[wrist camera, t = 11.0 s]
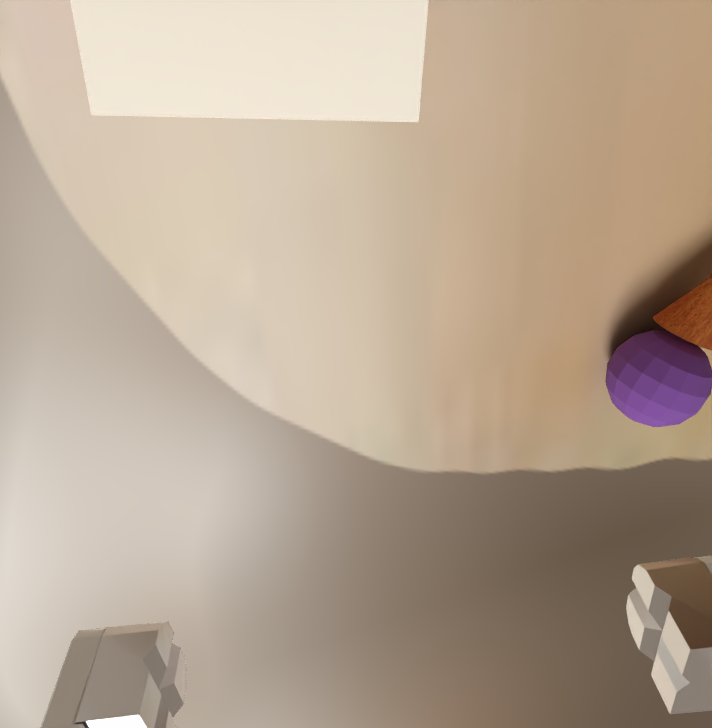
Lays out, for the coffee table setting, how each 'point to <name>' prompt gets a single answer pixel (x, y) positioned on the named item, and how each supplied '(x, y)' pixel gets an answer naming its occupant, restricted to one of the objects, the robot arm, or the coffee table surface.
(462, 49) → the coffee table surface
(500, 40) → the coffee table surface
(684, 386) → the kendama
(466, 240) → the coffee table surface
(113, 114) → the lid
